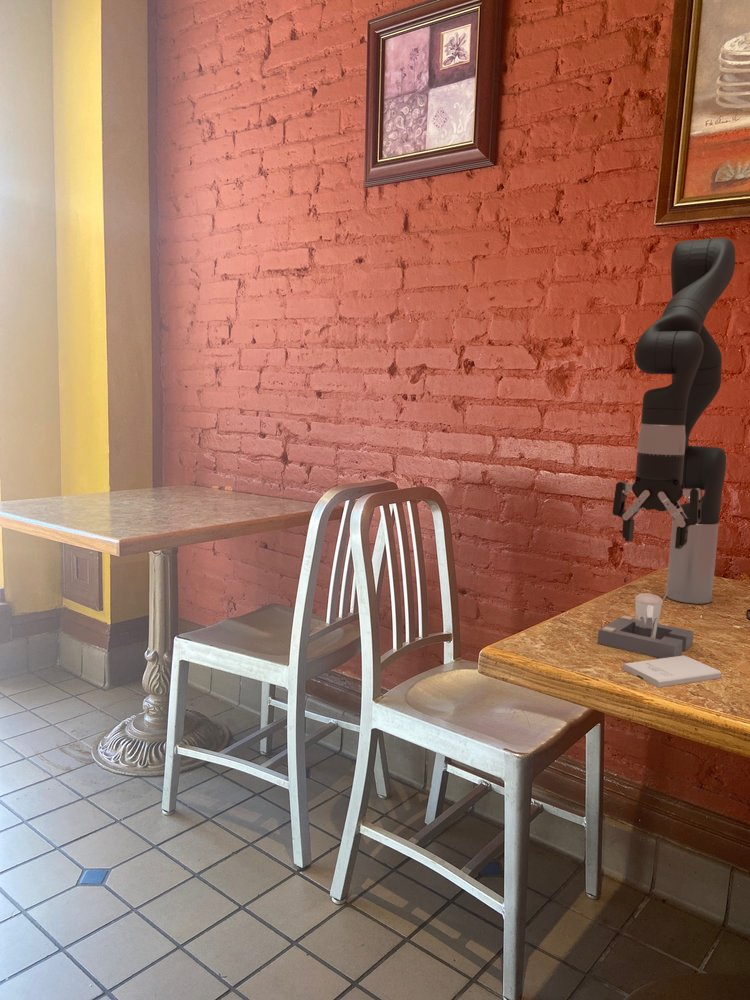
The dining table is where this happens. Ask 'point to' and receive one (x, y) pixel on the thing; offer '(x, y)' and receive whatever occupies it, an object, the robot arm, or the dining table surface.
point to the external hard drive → (672, 671)
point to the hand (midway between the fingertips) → (653, 544)
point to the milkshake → (648, 614)
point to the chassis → (645, 638)
